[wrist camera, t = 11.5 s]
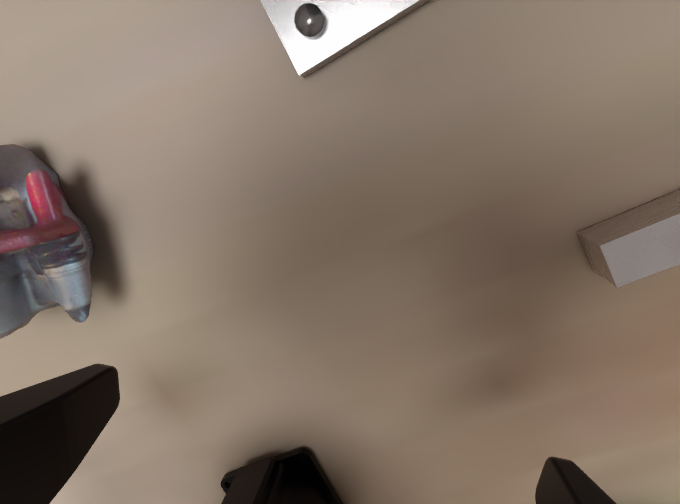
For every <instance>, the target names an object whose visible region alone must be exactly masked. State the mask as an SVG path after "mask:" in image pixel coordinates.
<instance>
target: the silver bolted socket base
mask: <svg viewBox="0 0 680 504" xmlns="http://www.w3.org/2000/svg"><path fill="white" fill-rule="evenodd" d="M428 1H430V0H261V2H262V4H263V6H264V8H265V10H266V12H267V14H268V16H269V18H270V20H271V22H272V24H273V26H274V28H275V30H276V32H277V34H278V35H279V37H280V39H281V41H282V43H283V45H284V47H285V49H286V51H287V53H288V55H289V57H290V59H291V61H292V63H293V65H294V67H295V69H296V71H297V73H298V74H299V75H300V76H301V77H303V78H305V77H307V76H308V75H310V74H311V73H313V72H315V71H316V70H318V69H319V68H321V67H323V66H324V65H326V64H328V63H329V62H331V61H332V60H334V59H336V58H337V57H339V56H341V55H342V54H344V53H345V52H347V51H349V50H350V49H352V48H354V47H355V46H357V45H358V44H360V43H362V42H363V41H365V40H366V39H368V38H370V37H371V36H373V35H375V34H376V33H378V32H379V31H381V30H383V29H384V28H386V27H388V26H389V25H391V24H392V23H394V22H396V21H397V20H399V19H400V18H402V17H404V16H405V15H407V14H409V13H410V12H412V11H413V10H415V9H417V8H418V7H420V6H422V5H423V4H425V3H426V2H428Z"/></svg>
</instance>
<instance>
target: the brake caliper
mask: <svg viewBox="0 0 680 504" xmlns="http://www.w3.org/2000/svg"><path fill="white" fill-rule="evenodd" d="M92 258H93V242H92V239H91V237H90V234H89V232H88V229H87V227H86V225H85V223H84V222H83V221H82V220H80V219H79V218H78V217H76V216H75V215H74V214H73V213H72V211H71V210H70V208H69V206H68V203H67V201H66V198H65V196H64V194H63V192H62V190H61V187H60V184H59V179H58V176H57V174H56V173H55V172H54V171H53V170H52V169H50V168H49V167H48V166H47V165H46V164H45V163H44V162H43V161H42V160H41V159H40V158H38V157H36V156H35V155H34V154H33V152H31V151H30V150H28V149H25V148H23V147H21V146H17V145H2V146H0V338H3V337H5V336H7V335H9V334H11V333H13V332H14V331H16V330H17V329H19V328H22V327H24V326H25V325H27V324H28V323H29V322H30V320H31V319H32V318H33V317H34V316H35V315H36V314H37V313H38V312H40V311H42V310H44V309H47V308H51V307H56V306H60V305H61V306H62V307H63V308H64V309H65V311H66V312H67V313H68V314H69V315H70V317H71V318H72V319H74V320H75V321H76V322H83V321H85V320H86V319H87V317H88V315H89V309H90V303H91V296H92V281H91V274H90V264H91V260H92Z"/></svg>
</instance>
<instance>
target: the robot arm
mask: <svg viewBox="0 0 680 504" xmlns="http://www.w3.org/2000/svg"><path fill="white" fill-rule="evenodd" d="M119 400H120V393H119V380H118V371H117V369H116V368H115V367H113V366H109V365H104V364H94V365H91V366H88V367H85V368H82V369H79V370H76V371H74V372H71V373H68V374H65V375H62V376H59V377H56V378H53V379H50V380H47V381H45V382H42V383H39V384H36V385H33V386H30V387H27V388H24V389H21V390H19V391H16V392H13V393H10V394H7V395H4V396H1V397H0V504H49V503H50V502H51V501H52V500H53V498H54V497H55V496H56V495H57V493H58V492H59V491H60V490H61V488H62V487H63V486H64V485H65V483H66V482H67V481H68V479H69V478H70V477H71V476H72V474H73V473H74V471H75V470H76V469H77V467H78V466H79V464H80V463H81V462H82V460H83V459H84V457H85V456H86V454H87V453H88V451H89V450H90V448H91V447H92V445H93V444H94V442H95V441H96V439H97V438H98V436H99V435H100V433H101V432H102V430H103V429H104V427H105V426H106V424H107V423H108V421H109V420H110V418H111V417H112V415H113V414H114V412H115V411H116V409H117V407H118V404H119ZM302 457H305V458H306V459H304V458H302ZM229 482H230V483H229ZM221 487H222V488H223V490H224V491H225V493H226V496H225V498H224V500H223V502H222V504H343V503H342V501H341V500H340V498H339V496H338V495H337V493H336V492H335V490H334V488H333V487H332V485H331V483H330V482H329V480H328V478H327V477H326V475H325V474H324V472H323V470H322V469H321V467H320V465H319V464H318V462H317V460H316V459H315V457H314V455H313V454H312V452H311V451H310V450H308V449H306V448H301V449H298V450H295V451H292V452H289V453H286V454H283V455H280V456H277V457H274V458H268V459H265V460H262V461H260V462H257V463H254V464H251V465H248V466H245V467H242V468H240V469H239V470H236V471H234V472H231V473H228V474H226V475H224V477H223V479H222V481H221ZM535 499H536V504H616V503H615V502H614V501H613V500H612V499H611V498H610V497H609V496H608V495H607V494H606V493H605V492H604V491H603V490H602V489H601V488H600V487H599V486H598V485H597V484H596V483H595V482H594V481H592V480H591V479H590V478H589V477H588V476H587V475H586V474H585V473H584V472H583V471H582V470H581V469H580V468H579V467H578V466H577V465H576V464H575V463H574V462H572V461H570V460H566V459H561V458H557V457H549V458H548V459H547V460H546V462H545V464H544V467H543V470H542V473H541V476H540V479H539V482H538V484H537V488H536V494H535Z"/></svg>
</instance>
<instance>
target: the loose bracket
mask: <svg viewBox="0 0 680 504" xmlns="http://www.w3.org/2000/svg"><path fill="white" fill-rule="evenodd" d="M577 233H578V235H579V238H580V240H581V242H582V245H583V247H584V250H585V252H586V254H587V257H588V259H589V262H590V264H591V266H592V269H593V270H594V271H595V272H597V273H598V274H599V275H601V276H602V277H603V278H605V279H606V280H607V281H609V282H610V283H611V284H613V285H614V286H615V287H617V288H618V287H620V286H623V285H626V284H629V283H631V282H634V281H637V280H639V279H642V278H645V277H647V276H650V275H653V274H655V273H658V272H661V271H663V270H666V269H669V268H671V267H674V266H677V265H679V264H680V189H679V190H677V191H674V192H672V193H670V194H667V195H665V196H662V197H660V198H658V199H655V200H653V201H650V202H648V203H646V204H643V205H641V206H638V207H636V208H634V209H631V210H629V211H627V212H624V213H622V214H619V215H617V216H615V217H612V218H610V219H607V220H605V221H603V222H600V223H598V224H595V225H593V226H591V227H588V228H586V229H583V230H581V231H579V232H577Z"/></svg>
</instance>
